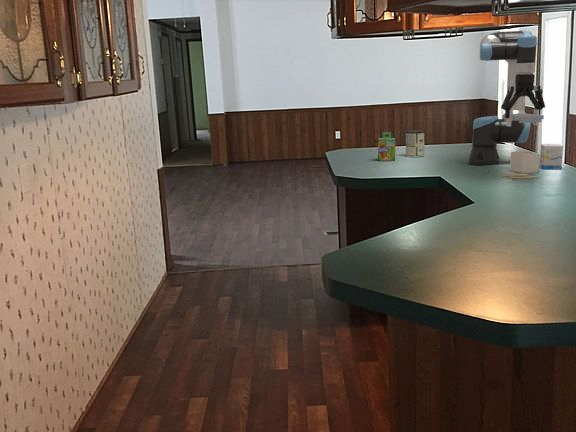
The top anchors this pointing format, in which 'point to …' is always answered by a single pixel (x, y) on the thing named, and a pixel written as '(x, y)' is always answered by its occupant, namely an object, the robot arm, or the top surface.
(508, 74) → the robot arm
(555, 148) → the ink box
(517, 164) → the crate
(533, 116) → the lid
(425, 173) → the top surface
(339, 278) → the top surface
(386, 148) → the chalk box
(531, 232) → the top surface
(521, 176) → the mat
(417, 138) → the cream miniature cabinet
